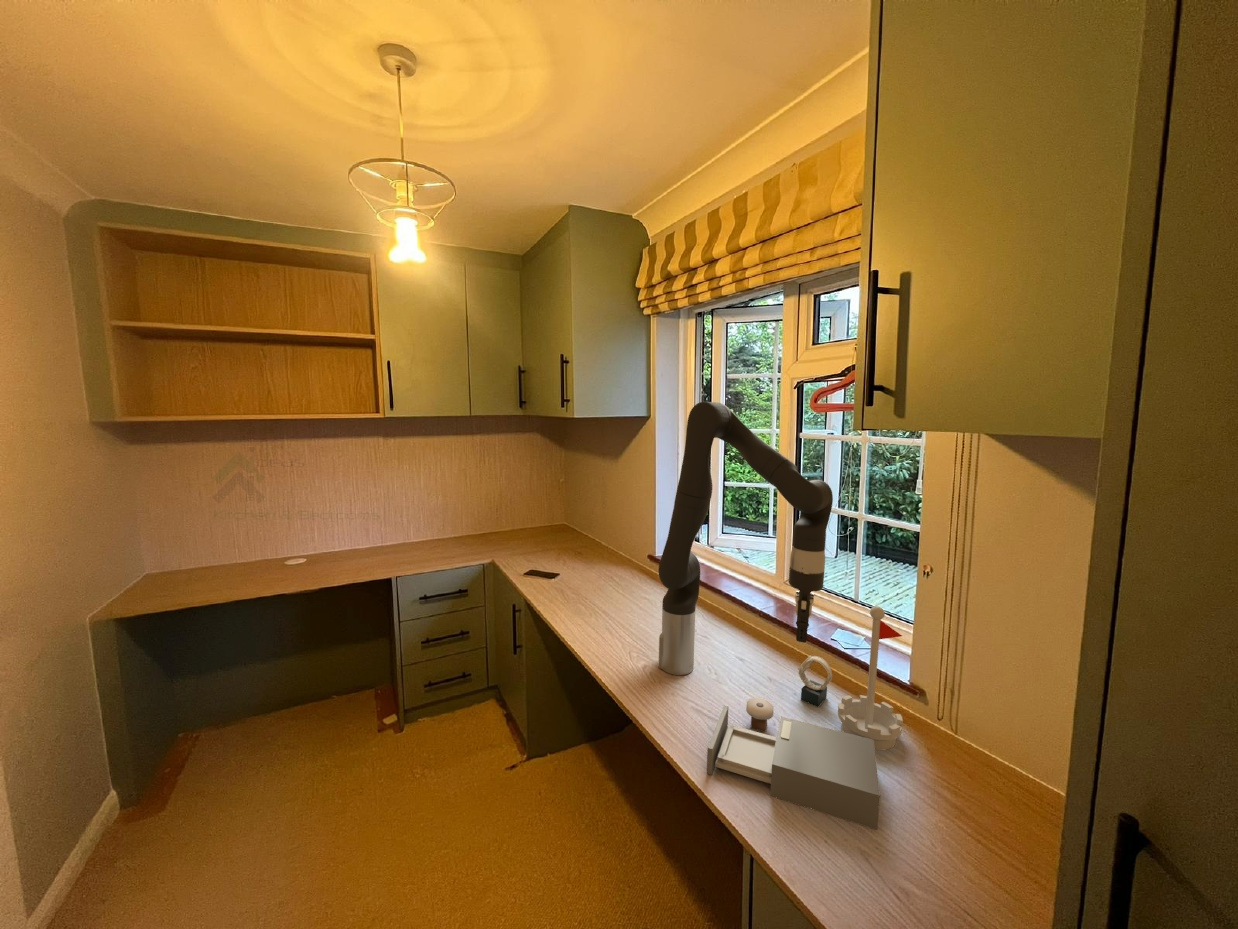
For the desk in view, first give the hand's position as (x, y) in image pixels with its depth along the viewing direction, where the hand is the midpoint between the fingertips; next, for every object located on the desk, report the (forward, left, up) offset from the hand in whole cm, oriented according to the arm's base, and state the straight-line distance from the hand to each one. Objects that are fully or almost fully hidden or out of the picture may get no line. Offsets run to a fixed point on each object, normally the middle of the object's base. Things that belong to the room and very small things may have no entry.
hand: (801, 633), depth 115 cm
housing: (+6, -20, -21) cm, 30 cm away
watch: (+3, +10, -21) cm, 23 cm away
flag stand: (+15, +1, -21) cm, 26 cm away
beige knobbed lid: (-8, -7, -17) cm, 20 cm away
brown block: (-8, -7, -21) cm, 23 cm away
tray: (-6, -20, -20) cm, 29 cm away
